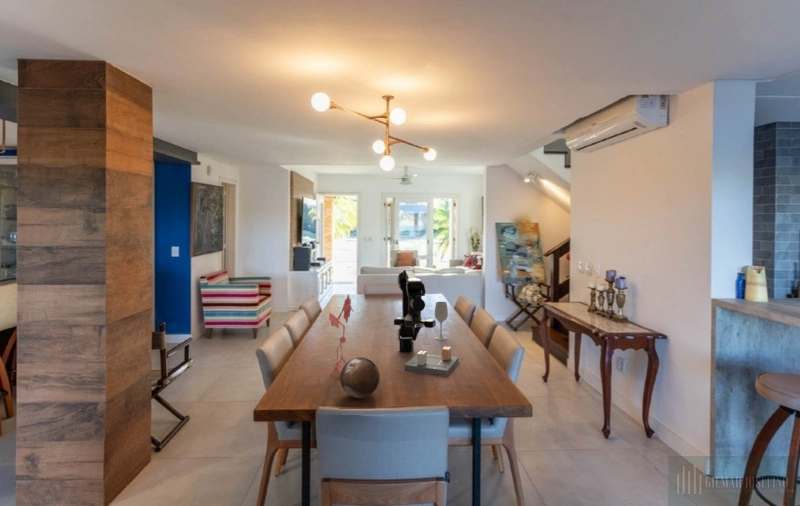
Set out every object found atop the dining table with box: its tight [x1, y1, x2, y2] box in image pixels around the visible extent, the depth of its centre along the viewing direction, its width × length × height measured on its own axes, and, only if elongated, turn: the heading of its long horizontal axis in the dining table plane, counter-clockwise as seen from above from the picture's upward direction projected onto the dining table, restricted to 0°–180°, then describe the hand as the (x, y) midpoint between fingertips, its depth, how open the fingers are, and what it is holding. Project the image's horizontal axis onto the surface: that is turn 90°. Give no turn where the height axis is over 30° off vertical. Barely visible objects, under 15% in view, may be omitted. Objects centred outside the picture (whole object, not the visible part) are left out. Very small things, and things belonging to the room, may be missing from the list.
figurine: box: [327, 293, 355, 381], centre depth 192 cm, size 15×26×35 cm, turn 175°
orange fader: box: [441, 345, 452, 360], centre depth 204 cm, size 3×5×5 cm, turn 158°
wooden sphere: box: [339, 356, 381, 399], centre depth 166 cm, size 15×15×15 cm
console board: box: [403, 353, 460, 377], centre depth 202 cm, size 20×20×3 cm
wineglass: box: [434, 301, 449, 341], centre depth 249 cm, size 8×8×21 cm
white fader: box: [416, 350, 428, 365], centre depth 197 cm, size 3×5×5 cm, turn 158°
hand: (414, 340), depth 201 cm, fingers closed
